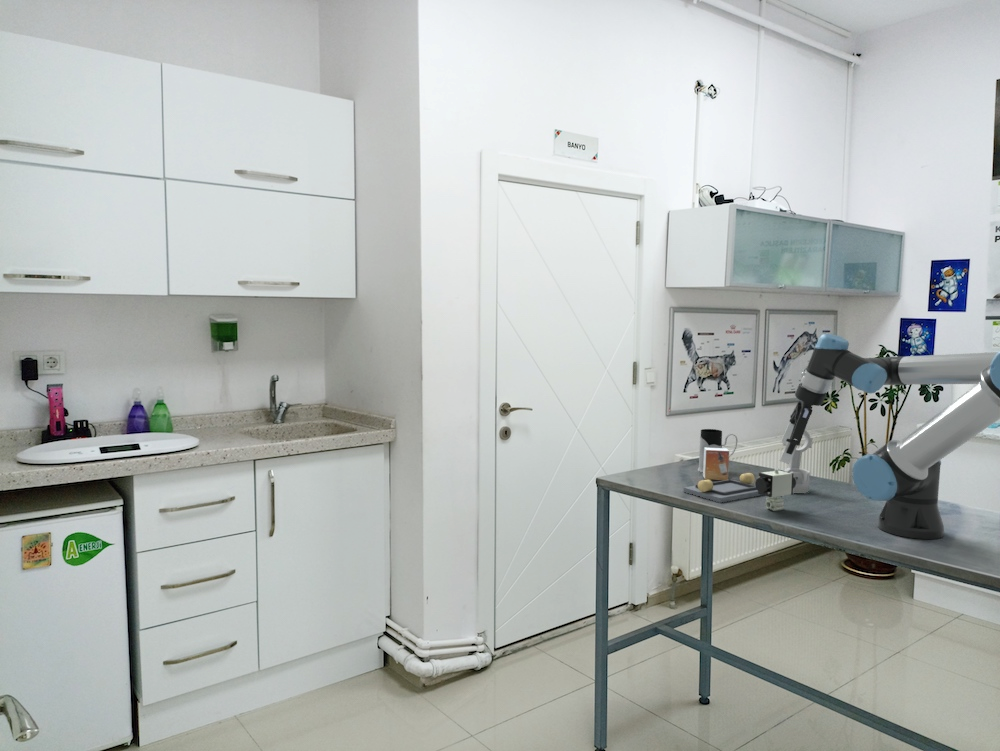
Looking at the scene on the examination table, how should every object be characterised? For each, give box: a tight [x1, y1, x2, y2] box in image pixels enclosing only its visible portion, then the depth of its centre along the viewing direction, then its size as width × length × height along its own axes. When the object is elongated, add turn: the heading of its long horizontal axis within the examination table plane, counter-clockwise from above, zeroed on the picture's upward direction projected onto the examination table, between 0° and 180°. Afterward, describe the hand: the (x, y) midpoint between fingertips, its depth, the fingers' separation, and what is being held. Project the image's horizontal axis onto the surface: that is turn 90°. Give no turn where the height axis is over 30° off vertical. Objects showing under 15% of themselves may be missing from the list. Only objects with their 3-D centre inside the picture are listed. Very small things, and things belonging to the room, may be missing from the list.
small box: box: [702, 447, 730, 481], centre depth 245 cm, size 8×6×10 cm
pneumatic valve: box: [754, 468, 796, 512], centre depth 206 cm, size 6×12×12 cm, turn 115°
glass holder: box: [697, 428, 738, 473], centre depth 256 cm, size 9×14×15 cm, turn 93°
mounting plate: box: [683, 472, 762, 504], centre depth 224 cm, size 23×15×5 cm, turn 121°
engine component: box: [777, 430, 813, 494], centre depth 229 cm, size 11×20×10 cm
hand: (784, 452), depth 203 cm, fingers open, 13 cm apart
